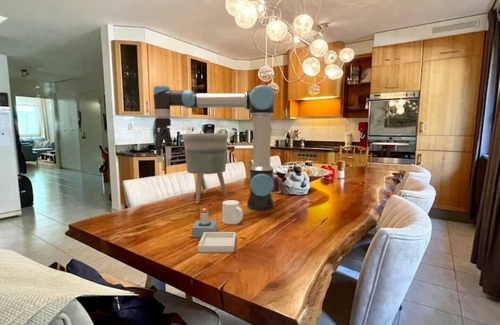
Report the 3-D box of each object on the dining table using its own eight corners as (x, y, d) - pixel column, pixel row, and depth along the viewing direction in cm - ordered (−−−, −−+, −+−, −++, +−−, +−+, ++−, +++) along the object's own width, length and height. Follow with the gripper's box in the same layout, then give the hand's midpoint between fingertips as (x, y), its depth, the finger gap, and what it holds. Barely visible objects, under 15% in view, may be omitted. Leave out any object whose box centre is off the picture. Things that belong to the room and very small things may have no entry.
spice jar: (209, 231, 119) (209, 206, 118) (208, 234, 116) (208, 209, 114) (201, 231, 119) (200, 206, 118) (200, 234, 116) (199, 209, 114)
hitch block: (216, 229, 122) (216, 220, 122) (214, 237, 113) (213, 228, 113) (196, 229, 122) (196, 220, 122) (192, 237, 113) (191, 228, 113)
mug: (217, 202, 131) (230, 198, 137) (218, 221, 133) (230, 217, 138) (235, 207, 123) (247, 203, 129) (235, 227, 125) (247, 222, 130)
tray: (235, 237, 113) (235, 232, 112) (233, 252, 100) (233, 245, 99) (204, 237, 113) (204, 232, 112) (198, 252, 100) (197, 245, 100)
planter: (236, 196, 177) (236, 133, 172) (209, 207, 155) (207, 135, 150) (205, 191, 191) (204, 133, 186) (176, 200, 169) (173, 134, 164)
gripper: (163, 118, 149) (165, 157, 152) (145, 117, 124) (147, 163, 127) (177, 118, 149) (178, 157, 152) (162, 117, 124) (164, 163, 127)
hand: (164, 160), depth 139 cm, fingers open, 13 cm apart
